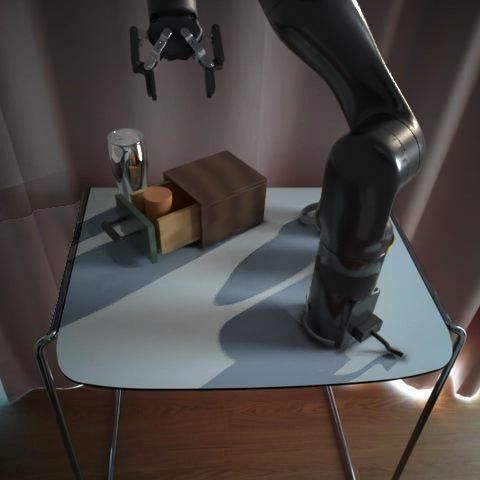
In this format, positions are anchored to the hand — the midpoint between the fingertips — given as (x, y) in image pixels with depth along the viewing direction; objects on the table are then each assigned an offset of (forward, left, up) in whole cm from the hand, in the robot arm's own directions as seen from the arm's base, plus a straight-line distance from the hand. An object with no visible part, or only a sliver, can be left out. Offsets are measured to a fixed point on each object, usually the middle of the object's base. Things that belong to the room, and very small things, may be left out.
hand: (182, 97), depth 77 cm
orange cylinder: (0, +6, -23) cm, 24 cm away
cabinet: (0, -6, -25) cm, 26 cm away
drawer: (0, +7, -24) cm, 25 cm away
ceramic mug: (-14, -23, -25) cm, 37 cm away
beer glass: (+12, +5, -25) cm, 28 cm away
